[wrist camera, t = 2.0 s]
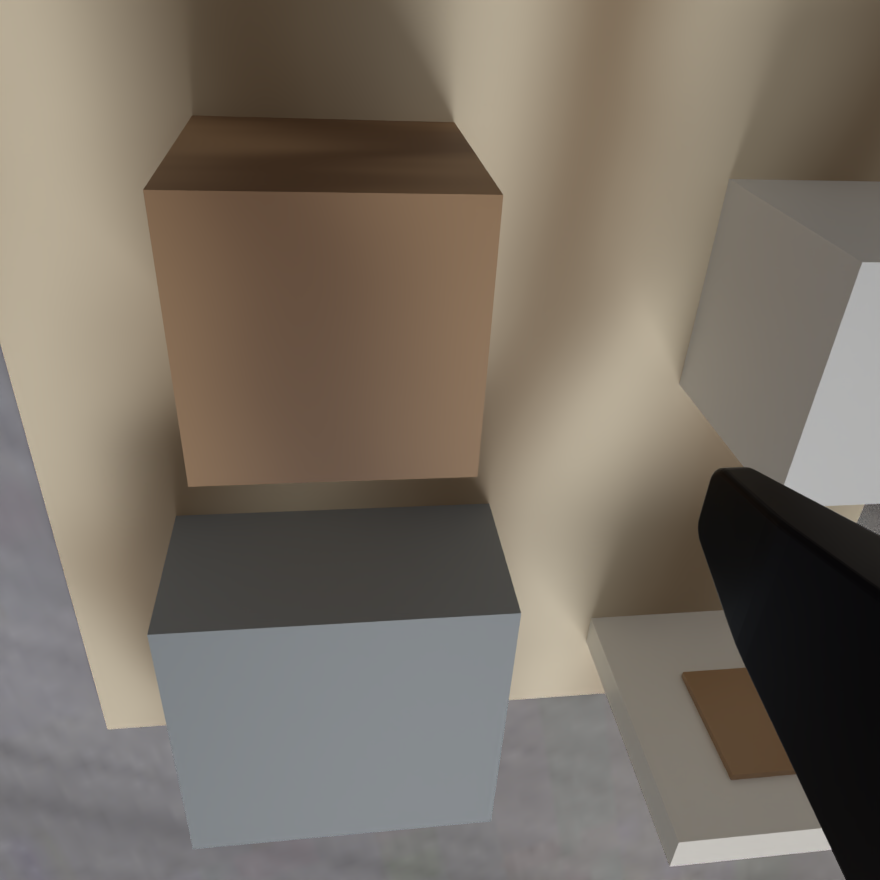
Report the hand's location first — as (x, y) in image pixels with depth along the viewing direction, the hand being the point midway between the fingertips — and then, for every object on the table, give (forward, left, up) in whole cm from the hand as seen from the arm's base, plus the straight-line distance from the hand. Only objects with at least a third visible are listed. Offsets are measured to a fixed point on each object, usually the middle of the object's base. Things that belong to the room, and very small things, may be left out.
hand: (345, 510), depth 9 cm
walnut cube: (0, 0, -9) cm, 9 cm away
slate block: (0, +11, -9) cm, 14 cm away
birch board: (-4, +5, -9) cm, 11 cm away
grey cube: (-11, +1, -9) cm, 14 cm away
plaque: (-11, +12, -9) cm, 18 cm away
